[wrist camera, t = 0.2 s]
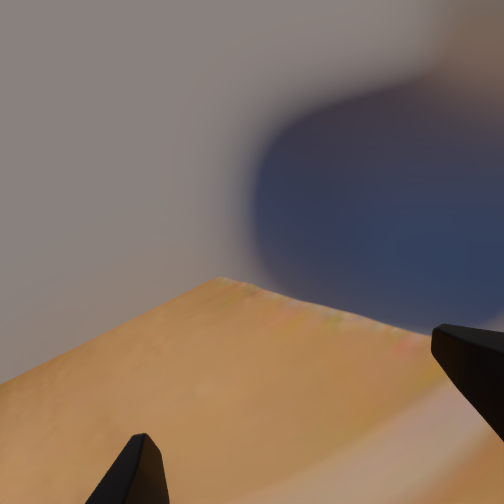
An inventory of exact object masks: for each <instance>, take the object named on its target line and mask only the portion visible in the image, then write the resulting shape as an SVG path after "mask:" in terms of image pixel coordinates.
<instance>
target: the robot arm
mask: <svg viewBox="0 0 504 504" xmlns="http://www.w3.org/2000/svg"><path fill="white" fill-rule="evenodd" d="M431 352H432V355H433V357H434V358H435V359H436V361H437V362H438V363H439V365H440V366H441V367H442V369H443V370H444V371H445V373H446V374H447V376H448V377H449V378H450V380H451V381H452V382H453V384H454V385H455V386H456V388H457V389H458V390H459V391H460V392H461V393H462V394H463V396H464V397H465V398H466V399H467V400H468V401H469V402H470V403H471V404H472V406H473V407H474V408H475V409H476V410H477V411H478V412H479V414H480V415H481V416H482V417H483V418H484V419H485V420H486V422H487V423H488V424H489V425H490V426H491V427H492V429H493V430H494V431H495V432H496V433H497V435H498V436H499V437H500V438H501V439H502V440H503V442H504V333H503V332H496V331H490V330H483V329H476V328H469V327H462V326H456V325H450V324H441V325H439V326H437V327H436V328H434V329H433V331H432V340H431ZM85 504H170V502H169V494H168V489H167V484H166V478H165V473H164V467H163V461H162V455H161V452H160V450H159V449H158V447H157V446H156V445H155V443H154V442H153V441H152V439H151V438H150V437H149V435H148V434H146V433H142V434H136V435H133V436H132V437H131V438H130V440H129V441H128V443H127V444H126V446H125V447H124V448H123V450H122V451H121V453H120V454H119V456H118V457H117V458H116V460H115V461H114V463H113V464H112V466H111V467H110V468H109V470H108V471H107V473H106V474H105V476H104V477H103V478H102V480H101V481H100V483H99V484H98V486H97V487H96V488H95V490H94V491H93V493H92V494H91V496H90V497H89V498H88V500H87V501H86V503H85Z"/></svg>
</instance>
